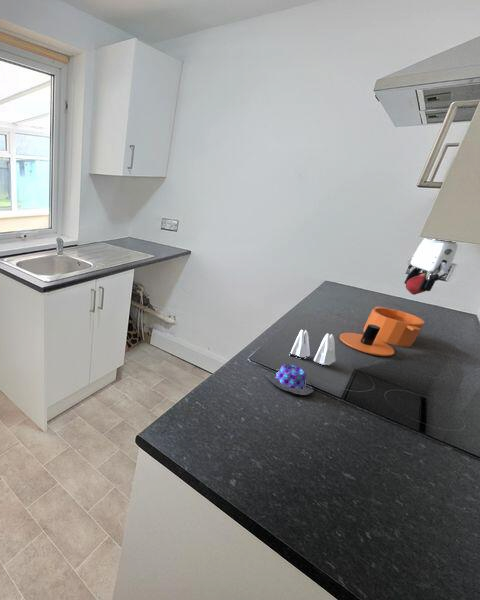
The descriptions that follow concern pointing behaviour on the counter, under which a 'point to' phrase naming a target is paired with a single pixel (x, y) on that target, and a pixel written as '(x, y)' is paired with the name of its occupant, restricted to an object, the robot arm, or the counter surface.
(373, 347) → the pot lid
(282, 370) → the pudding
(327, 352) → the shaker set
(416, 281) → the onion
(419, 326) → the pot
